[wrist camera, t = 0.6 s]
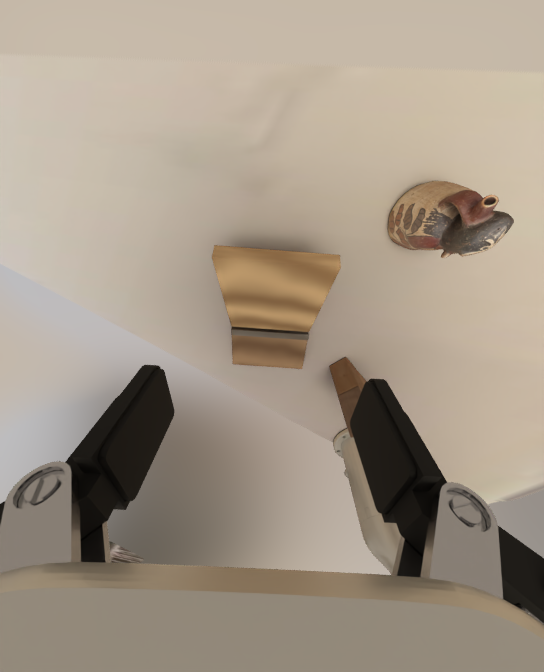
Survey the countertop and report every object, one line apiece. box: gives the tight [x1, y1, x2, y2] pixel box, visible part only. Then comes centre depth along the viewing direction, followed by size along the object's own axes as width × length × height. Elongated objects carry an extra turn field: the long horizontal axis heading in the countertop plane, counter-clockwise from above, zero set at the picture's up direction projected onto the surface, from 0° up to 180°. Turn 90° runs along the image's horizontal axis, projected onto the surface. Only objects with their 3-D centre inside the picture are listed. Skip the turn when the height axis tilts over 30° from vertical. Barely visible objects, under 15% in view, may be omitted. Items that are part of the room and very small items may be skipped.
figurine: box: [388, 181, 514, 258], centre depth 23 cm, size 7×7×12 cm
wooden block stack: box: [330, 357, 366, 438], centre depth 34 cm, size 4×11×18 cm, turn 40°
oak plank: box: [212, 245, 341, 332], centre depth 28 cm, size 15×12×2 cm
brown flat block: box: [231, 326, 309, 369], centre depth 37 cm, size 7×12×2 cm, turn 86°
